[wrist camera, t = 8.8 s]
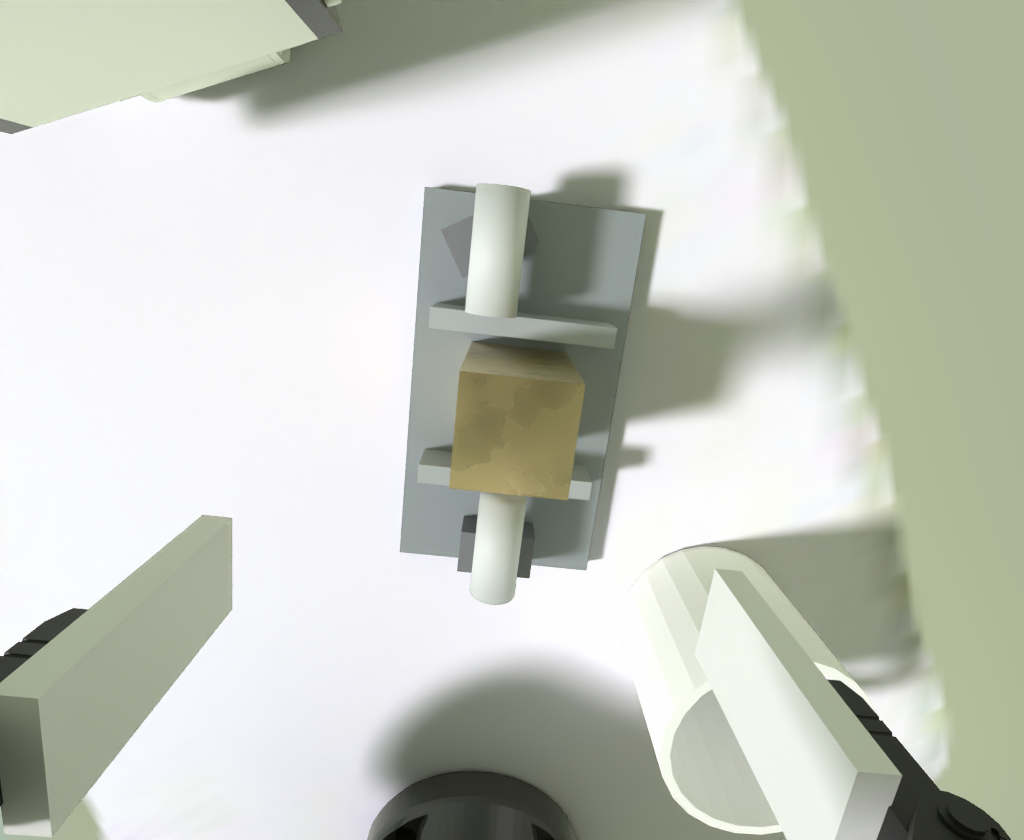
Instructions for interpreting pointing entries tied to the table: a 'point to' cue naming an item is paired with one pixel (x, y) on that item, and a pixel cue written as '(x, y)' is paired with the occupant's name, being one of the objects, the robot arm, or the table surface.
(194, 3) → the ball valve
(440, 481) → the shaft rig
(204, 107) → the table surface
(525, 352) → the coupling block
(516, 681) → the table surface
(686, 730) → the mug
